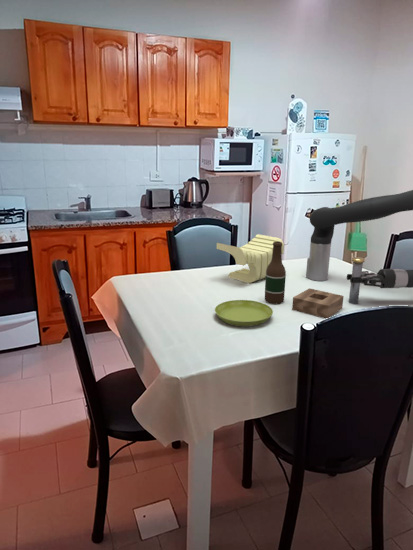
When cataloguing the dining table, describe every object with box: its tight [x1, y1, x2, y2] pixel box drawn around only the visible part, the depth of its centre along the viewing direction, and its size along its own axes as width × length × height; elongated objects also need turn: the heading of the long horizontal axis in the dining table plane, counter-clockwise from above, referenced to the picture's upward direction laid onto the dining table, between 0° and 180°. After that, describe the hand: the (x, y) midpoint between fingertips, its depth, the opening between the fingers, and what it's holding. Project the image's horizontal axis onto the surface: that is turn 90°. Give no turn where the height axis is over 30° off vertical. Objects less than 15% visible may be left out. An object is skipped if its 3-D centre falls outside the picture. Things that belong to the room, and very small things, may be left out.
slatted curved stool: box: [216, 233, 285, 284], centre depth 194 cm, size 30×16×18 cm, turn 136°
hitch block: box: [291, 288, 344, 320], centre depth 157 cm, size 14×14×5 cm
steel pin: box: [348, 256, 366, 305], centre depth 162 cm, size 5×5×18 cm
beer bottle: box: [264, 242, 287, 305], centre depth 162 cm, size 8×8×24 cm
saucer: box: [214, 299, 274, 327], centre depth 149 cm, size 21×21×3 cm
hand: (349, 278), depth 162 cm, fingers closed on steel pin, 3 cm apart
